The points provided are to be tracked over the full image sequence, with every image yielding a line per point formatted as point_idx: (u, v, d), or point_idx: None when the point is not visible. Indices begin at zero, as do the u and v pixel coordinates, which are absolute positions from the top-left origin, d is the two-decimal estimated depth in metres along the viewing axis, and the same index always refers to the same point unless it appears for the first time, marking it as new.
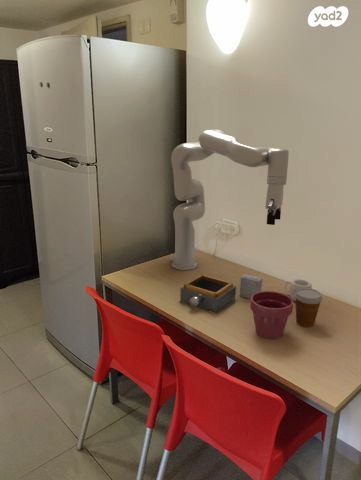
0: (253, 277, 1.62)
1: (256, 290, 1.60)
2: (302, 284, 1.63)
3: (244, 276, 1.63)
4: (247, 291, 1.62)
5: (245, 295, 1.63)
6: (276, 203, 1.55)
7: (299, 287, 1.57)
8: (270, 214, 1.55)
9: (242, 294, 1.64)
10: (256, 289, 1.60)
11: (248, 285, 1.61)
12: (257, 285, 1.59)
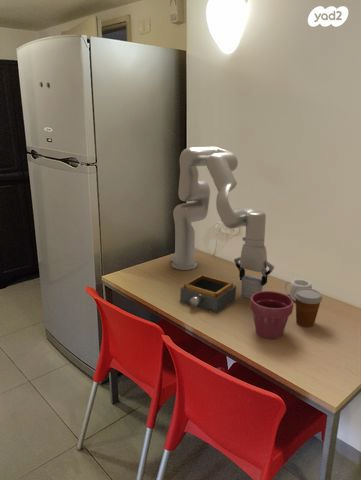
0: (255, 277, 1.62)
1: (257, 290, 1.59)
2: (302, 284, 1.63)
3: (245, 276, 1.63)
4: (248, 291, 1.62)
5: (246, 295, 1.63)
6: None
7: (299, 287, 1.57)
8: None
9: (243, 294, 1.63)
10: (257, 289, 1.59)
11: (249, 285, 1.61)
12: (258, 285, 1.59)
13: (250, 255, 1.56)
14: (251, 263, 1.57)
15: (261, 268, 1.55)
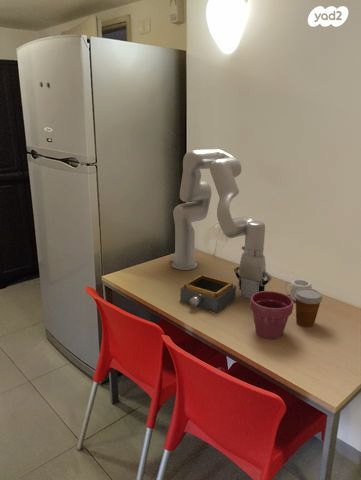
0: None
1: (256, 290, 1.59)
2: (302, 284, 1.63)
3: None
4: (247, 291, 1.62)
5: (246, 295, 1.63)
6: None
7: (299, 287, 1.57)
8: (264, 284, 1.59)
9: (243, 294, 1.64)
10: (256, 289, 1.59)
11: (249, 285, 1.61)
12: (257, 285, 1.59)
13: (249, 265, 1.58)
14: (250, 272, 1.58)
15: (260, 277, 1.57)
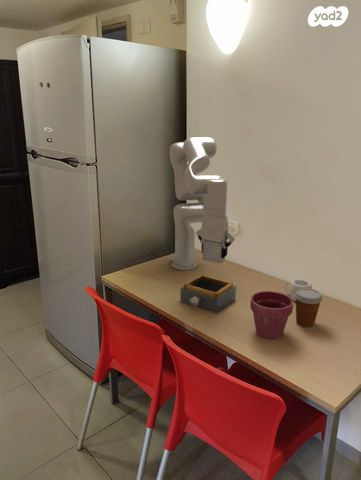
0: None
1: (219, 253, 1.51)
2: (302, 284, 1.63)
3: None
4: (210, 254, 1.53)
5: (208, 259, 1.54)
6: None
7: (299, 287, 1.57)
8: (227, 247, 1.50)
9: (205, 258, 1.55)
10: (219, 252, 1.51)
11: (211, 248, 1.52)
12: (220, 247, 1.50)
13: (211, 225, 1.49)
14: (212, 233, 1.50)
15: (222, 239, 1.48)
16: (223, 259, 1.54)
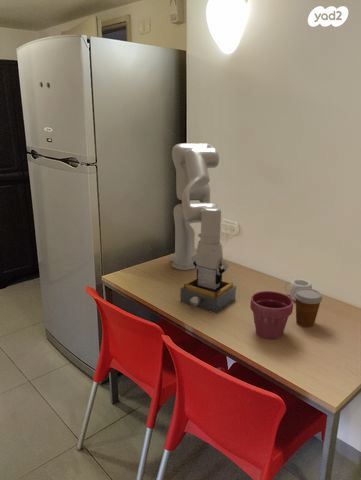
0: None
1: (213, 279, 1.53)
2: (302, 284, 1.63)
3: None
4: (204, 280, 1.56)
5: (203, 284, 1.57)
6: None
7: (299, 287, 1.57)
8: (221, 273, 1.53)
9: (200, 283, 1.57)
10: (213, 278, 1.53)
11: (206, 274, 1.55)
12: (214, 274, 1.53)
13: (205, 252, 1.52)
14: (206, 260, 1.52)
15: (216, 266, 1.51)
16: (218, 285, 1.56)
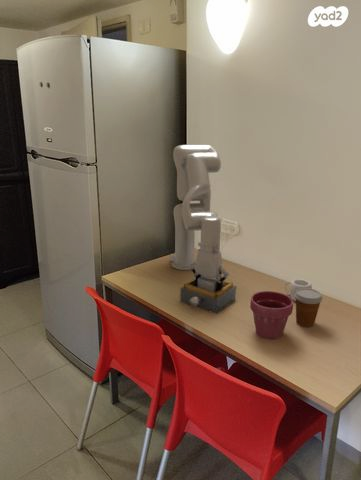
0: (211, 278, 1.58)
1: None
2: (302, 284, 1.63)
3: (201, 277, 1.59)
4: None
5: None
6: None
7: (299, 287, 1.57)
8: (222, 281, 1.54)
9: None
10: (212, 291, 1.55)
11: (205, 286, 1.57)
12: (213, 287, 1.55)
13: (205, 261, 1.53)
14: (206, 269, 1.54)
15: (215, 274, 1.52)
16: None
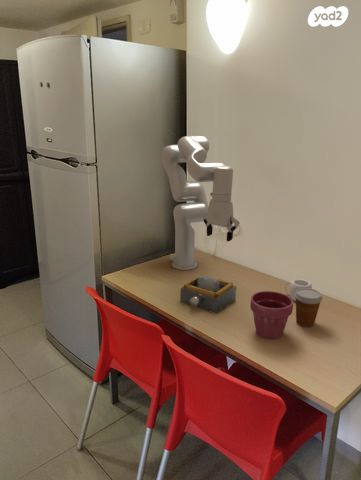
0: (211, 278, 1.58)
1: None
2: (302, 284, 1.63)
3: (201, 277, 1.59)
4: None
5: None
6: None
7: (299, 287, 1.57)
8: (233, 230, 1.57)
9: None
10: (212, 291, 1.55)
11: (205, 286, 1.57)
12: (213, 287, 1.55)
13: (216, 210, 1.57)
14: (217, 218, 1.57)
15: (226, 223, 1.55)
16: None
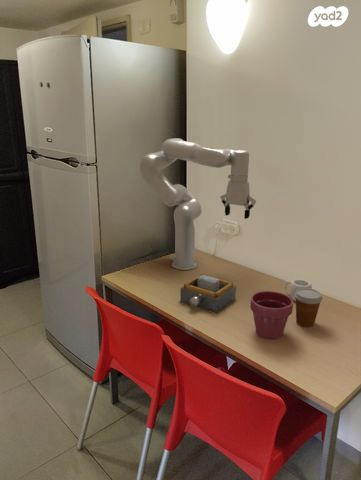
0: (211, 278, 1.58)
1: None
2: (302, 284, 1.63)
3: (201, 277, 1.59)
4: None
5: None
6: None
7: (299, 287, 1.57)
8: None
9: None
10: (212, 291, 1.55)
11: (205, 286, 1.57)
12: (213, 287, 1.55)
13: (235, 190, 1.73)
14: (235, 198, 1.73)
15: (244, 202, 1.72)
16: None
